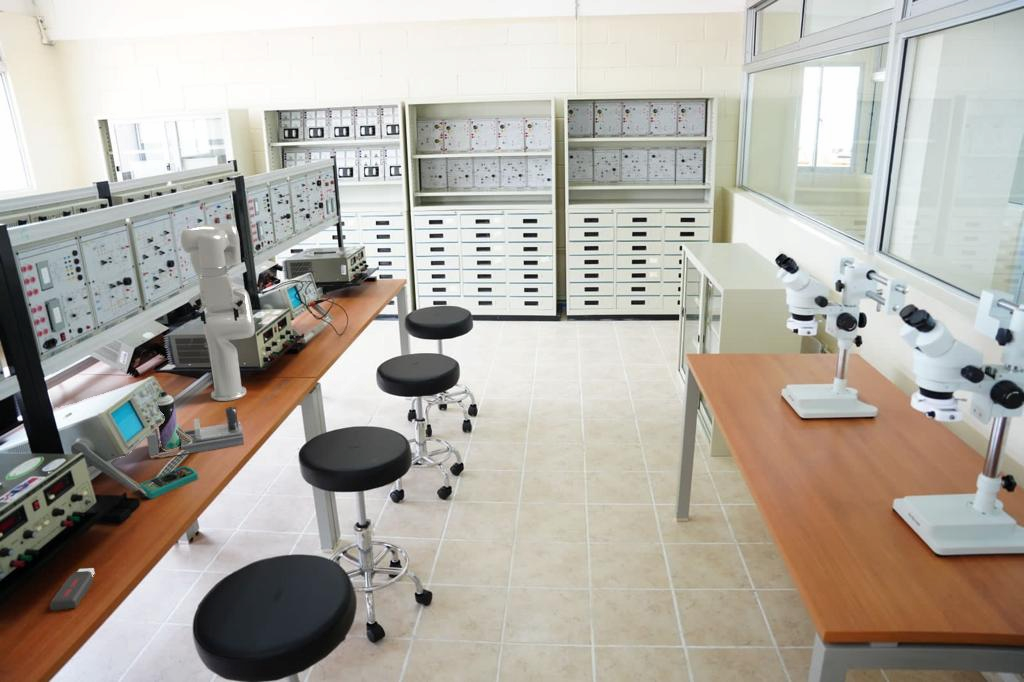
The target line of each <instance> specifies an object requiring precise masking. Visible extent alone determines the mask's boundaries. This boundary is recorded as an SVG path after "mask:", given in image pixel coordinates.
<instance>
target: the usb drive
mask: <svg viewBox="0 0 1024 682" xmlns="http://www.w3.org/2000/svg"><path fill="white" fill-rule="evenodd" d="M94 574H95V575H96V572H95V568H94V567H89V568H79V569H78V570H77V571H74V572H72V573H71V575H70V576H68V578H67V579H66V580H65V582H64V583H63V584H62V586H61V587H60V589H59V590H58V591H57V592H56V594H55V596H54V597H53V598H52V600H51V601H50V603H49V608H50V611H60V610H61V609H65V610H69V609H68V608H76V606H77V605H78V604H79V605H80V603H81V602H80V600H81V599H82V597H83V596H84V595H85V596H86V594H87V593H88V591H89V590H88V589H90V588H91V587H92V585H93V584H94V581H93V579H94V576H95V575H94ZM93 575H94V576H93ZM92 577H93V578H92ZM92 583H93V584H92ZM91 584H92V585H91ZM90 586H91V587H90ZM89 587H90V588H89ZM87 590H88V591H87ZM86 592H87V593H86ZM85 593H86V594H85ZM85 596H84V597H85ZM84 597H83V598H84ZM82 600H83V599H82ZM82 600H81V601H82ZM79 602H80V603H79ZM79 605H78V606H79ZM78 606H77V607H78ZM76 609H77V608H76ZM61 611H62V610H61Z"/></svg>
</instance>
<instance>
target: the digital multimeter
mask: <svg viewBox="0 0 1024 682" xmlns="http://www.w3.org/2000/svg"><path fill="white" fill-rule="evenodd" d="M198 479H199V475H198V472H197V471H196V470H195V469H193V468H192V467H188V466H186V465H183V466H180V467H177V468H176V469H174V470H171V471H168V472H166V473H164V474H161V475H159V476H155V477H154V478H152V479H151V478H150V479H149V480H146V481H143V482H141V483H139V484H138V485H140V486H141V487H142V488H143V489H144V491H145V492H146V494H147V497H146V498H148V499H151V500H153V499H156V498H157V497H160V496H162V495H164V494H166V493H168V492H170V491H173V490H176V489H178V488H180V487H183V486H185V485H187V484H190V483H192V482H195V481H197V480H198ZM152 482H154V485H153V486H152V487H149V485H150V484H151V483H152Z"/></svg>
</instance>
